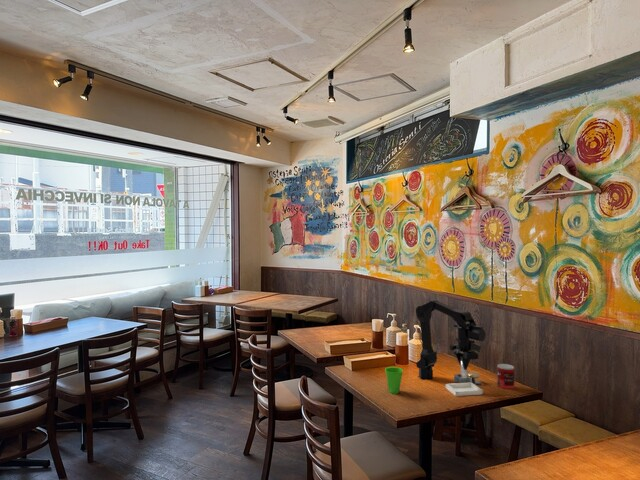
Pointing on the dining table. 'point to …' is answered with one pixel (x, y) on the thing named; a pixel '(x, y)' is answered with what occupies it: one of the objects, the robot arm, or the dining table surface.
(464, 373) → the pin
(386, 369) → the cup
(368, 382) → the dining table surface
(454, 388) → the tray
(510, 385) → the canned food
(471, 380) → the plate
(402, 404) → the dining table surface
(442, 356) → the dining table surface
